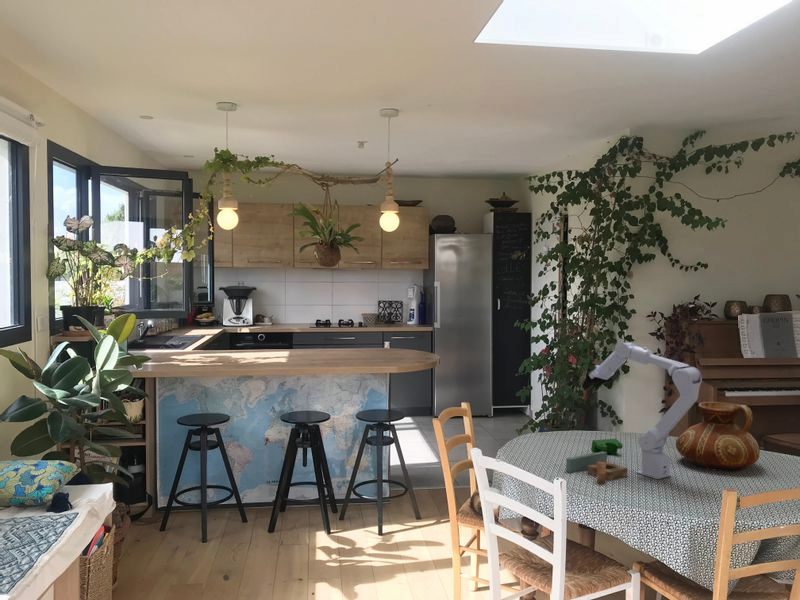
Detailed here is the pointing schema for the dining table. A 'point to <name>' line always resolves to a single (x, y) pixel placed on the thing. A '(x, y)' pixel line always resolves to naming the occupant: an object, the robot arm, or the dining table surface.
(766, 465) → the dining table surface
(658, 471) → the robot arm
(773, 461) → the dining table surface
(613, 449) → the clamp
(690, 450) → the jug
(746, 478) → the dining table surface
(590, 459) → the wall
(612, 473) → the square frame
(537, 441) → the dining table surface
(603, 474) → the dowel
